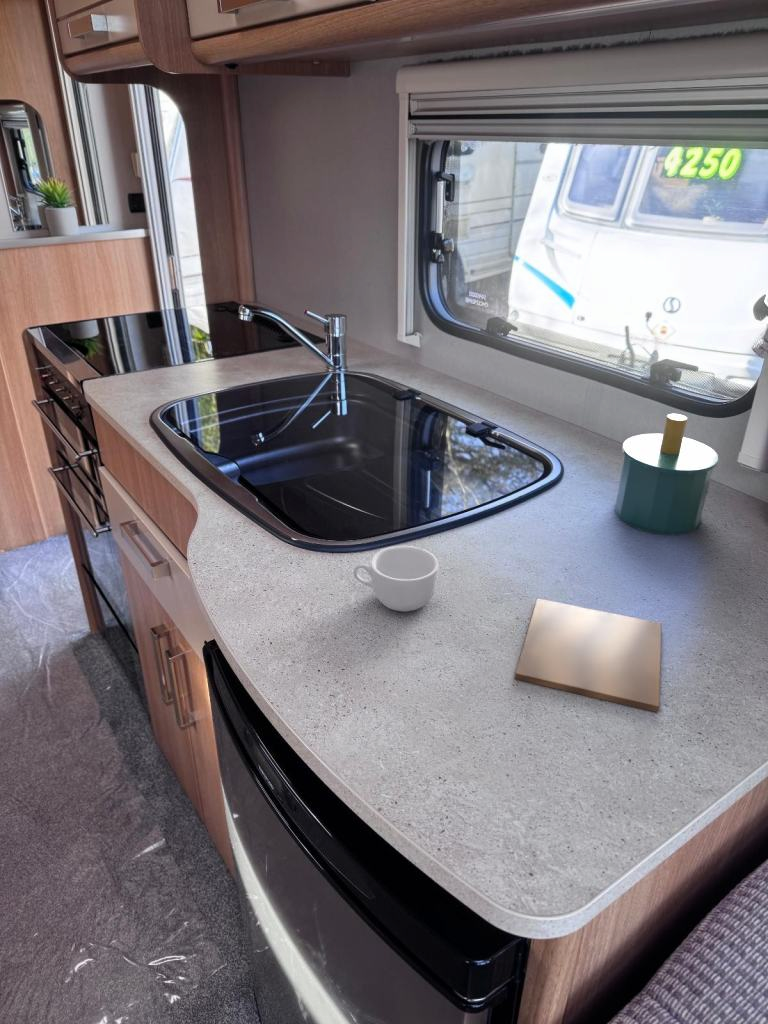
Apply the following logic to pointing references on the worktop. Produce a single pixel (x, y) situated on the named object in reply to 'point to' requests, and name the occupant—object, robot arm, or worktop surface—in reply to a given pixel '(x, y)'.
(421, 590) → the teacup
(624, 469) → the tea tin
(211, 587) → the worktop surface
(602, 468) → the worktop surface
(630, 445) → the tin lid
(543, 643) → the plate
